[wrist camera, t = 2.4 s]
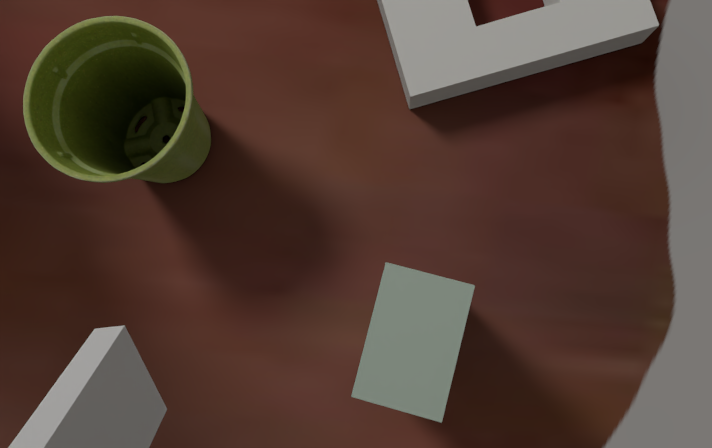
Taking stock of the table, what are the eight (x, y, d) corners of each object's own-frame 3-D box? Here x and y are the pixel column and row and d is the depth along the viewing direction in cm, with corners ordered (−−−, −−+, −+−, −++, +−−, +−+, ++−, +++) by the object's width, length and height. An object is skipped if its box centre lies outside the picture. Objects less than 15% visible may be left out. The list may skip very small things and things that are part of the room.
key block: (366, 362, 36) (351, 396, 24) (389, 271, 37) (385, 262, 25) (426, 379, 36) (441, 422, 24) (449, 287, 36) (474, 285, 24)
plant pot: (149, 52, 40) (81, -14, 31) (261, 113, 39) (222, 62, 30) (79, 165, 39) (-10, 130, 31) (191, 231, 38) (131, 213, 29)
